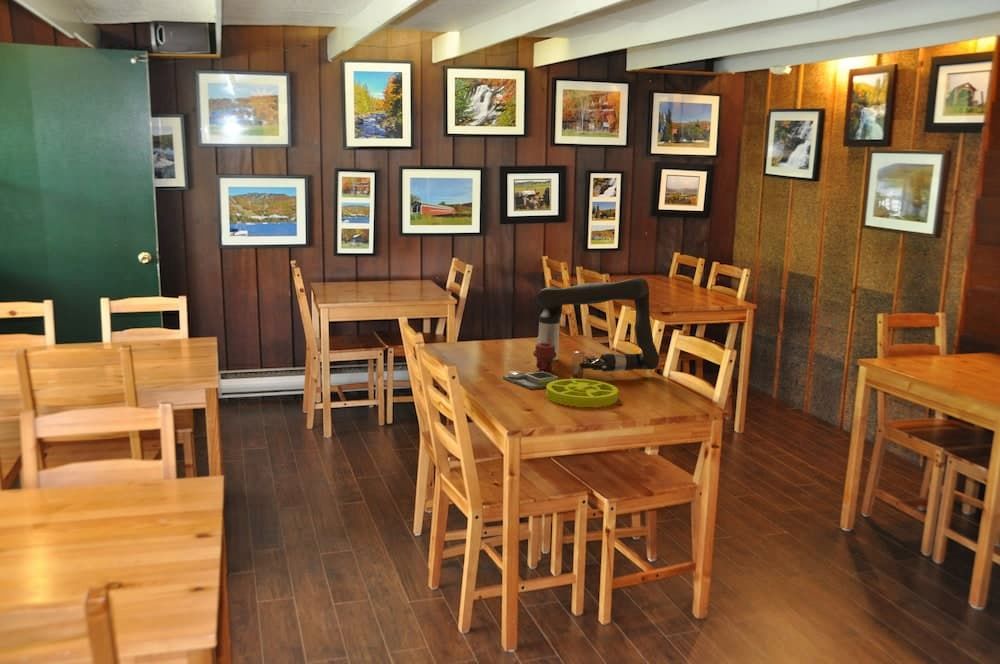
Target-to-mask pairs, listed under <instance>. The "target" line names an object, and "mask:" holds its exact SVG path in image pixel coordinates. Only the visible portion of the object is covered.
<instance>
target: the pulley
mask: <svg viewBox="0 0 1000 664" xmlns="http://www.w3.org/2000/svg"><path fill="white" fill-rule="evenodd" d="M545 391H546V392H545V398H546V399H547V398H548V399H547V400H549V401H550V400H551V401H550V402H552V401H553V403H555V402H556V403H555V404H558V403H560V404H559V405H561V404H564V405H563V406H566V405H569V406H568V407H572V406H576V407H575V408H583V407H596V408H602V407H601V406H605V407H607V406H606V405H610V406H612V405H611V404H613V403H615V402H616V401H617V402H618V401H619V400H618V395H619V388H618V387H616V386H615V385H613V384H610V383H607V382H604V381H600V380H599V381H598V380H594V379H570V378H568V379H567V378H566V379H565V378H564V379H558V380H556V381H553V382H550V383H548V384H547V386H546V388H545ZM617 402H616V403H617ZM616 403H615V404H616ZM613 405H614V404H613Z"/></svg>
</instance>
